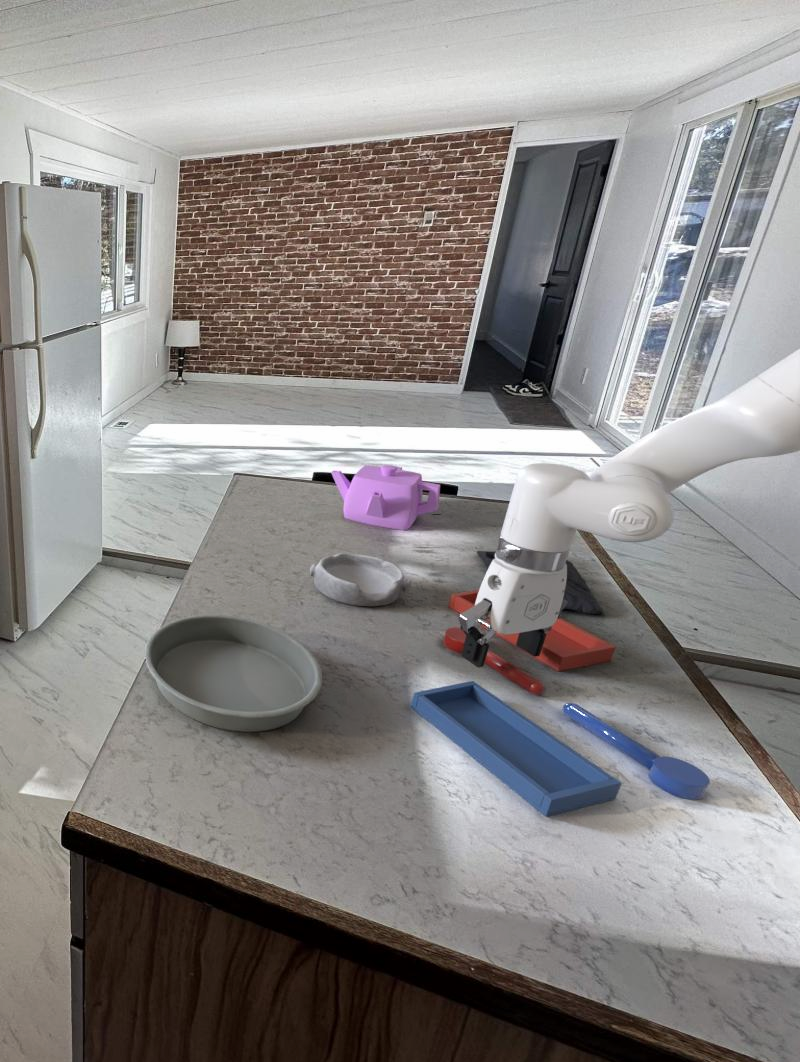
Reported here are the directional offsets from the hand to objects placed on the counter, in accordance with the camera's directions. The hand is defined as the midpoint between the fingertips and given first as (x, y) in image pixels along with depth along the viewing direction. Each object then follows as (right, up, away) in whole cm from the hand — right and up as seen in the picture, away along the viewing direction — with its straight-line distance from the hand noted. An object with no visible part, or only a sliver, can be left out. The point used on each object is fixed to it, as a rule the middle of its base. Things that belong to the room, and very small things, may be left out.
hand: (499, 656), depth 94 cm
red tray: (+11, +2, +9) cm, 15 cm away
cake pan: (-40, -5, +1) cm, 40 cm away
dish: (-8, +6, +24) cm, 26 cm away
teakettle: (+14, +19, +53) cm, 58 cm away
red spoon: (0, -2, +2) cm, 3 cm away
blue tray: (-10, -9, -13) cm, 19 cm away
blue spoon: (+4, -8, -15) cm, 17 cm away
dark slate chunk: (+25, +8, +23) cm, 35 cm away
